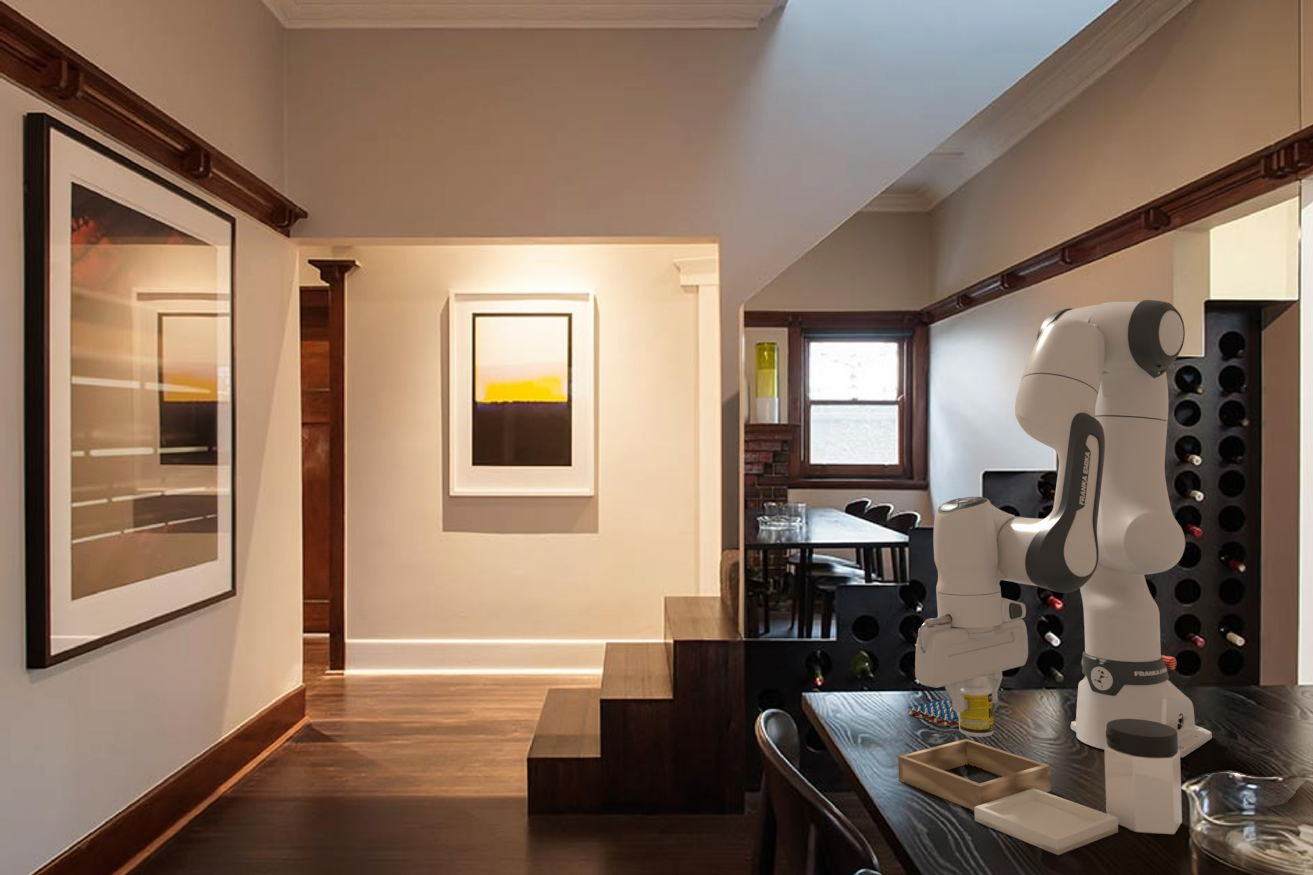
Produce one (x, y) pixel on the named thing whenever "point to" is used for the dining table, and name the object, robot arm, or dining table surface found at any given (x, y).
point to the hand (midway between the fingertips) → (975, 706)
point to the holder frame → (932, 763)
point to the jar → (1143, 775)
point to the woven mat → (937, 712)
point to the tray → (1046, 820)
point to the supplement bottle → (977, 708)
